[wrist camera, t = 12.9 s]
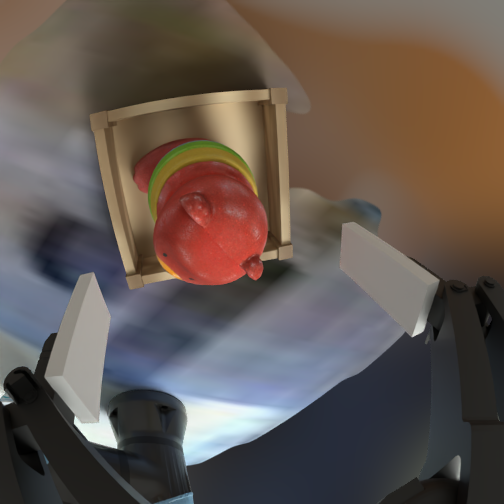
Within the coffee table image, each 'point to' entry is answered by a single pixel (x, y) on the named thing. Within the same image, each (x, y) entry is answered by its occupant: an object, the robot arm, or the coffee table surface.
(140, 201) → the crate
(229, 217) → the stacking bear
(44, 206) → the coffee table surface
